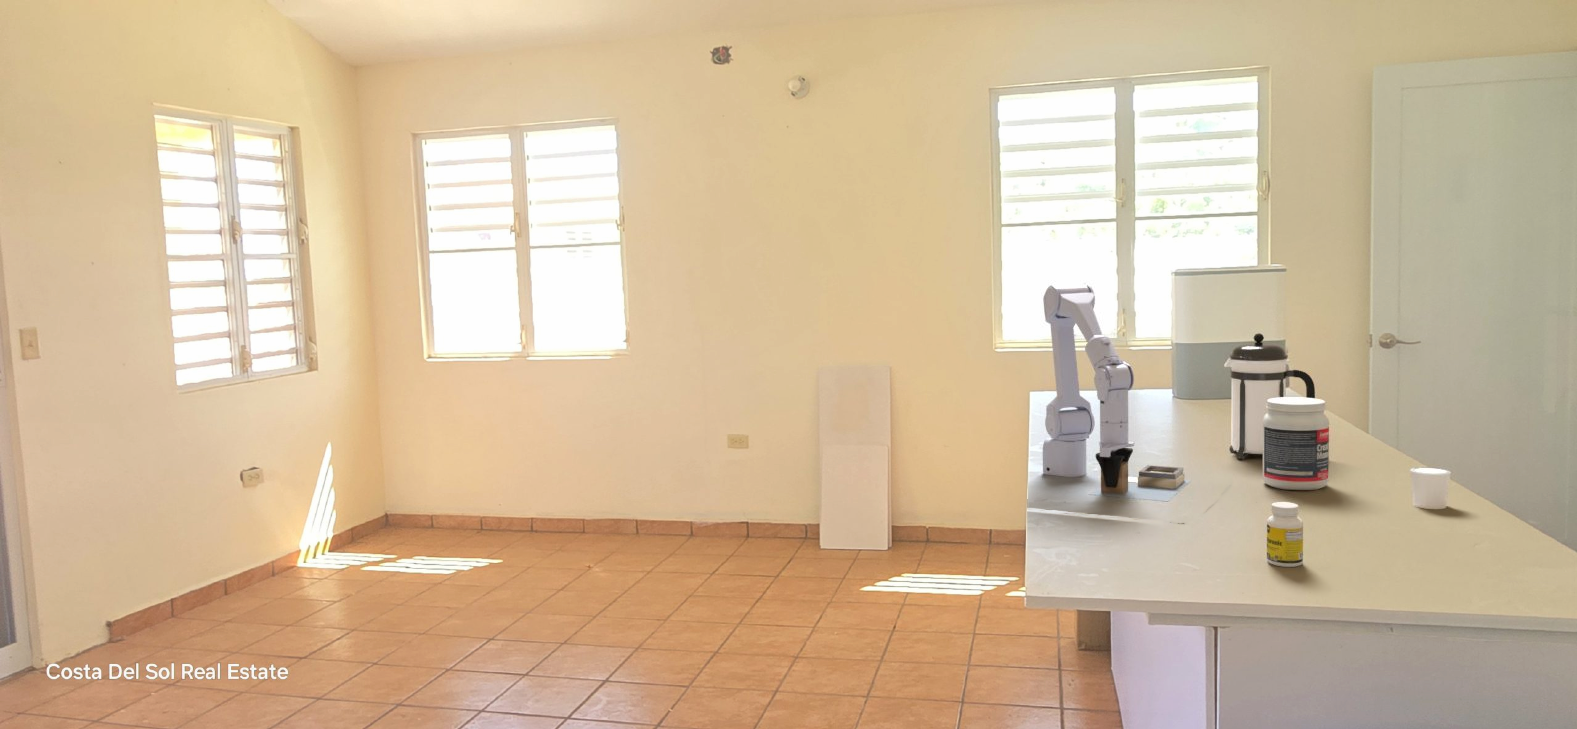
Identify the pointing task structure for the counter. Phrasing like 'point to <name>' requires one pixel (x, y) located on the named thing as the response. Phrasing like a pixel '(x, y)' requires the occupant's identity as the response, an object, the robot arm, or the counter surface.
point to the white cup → (1430, 487)
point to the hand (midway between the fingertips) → (1114, 484)
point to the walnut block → (1122, 481)
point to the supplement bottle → (1285, 535)
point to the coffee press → (1257, 391)
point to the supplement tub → (1295, 443)
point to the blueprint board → (1144, 492)
